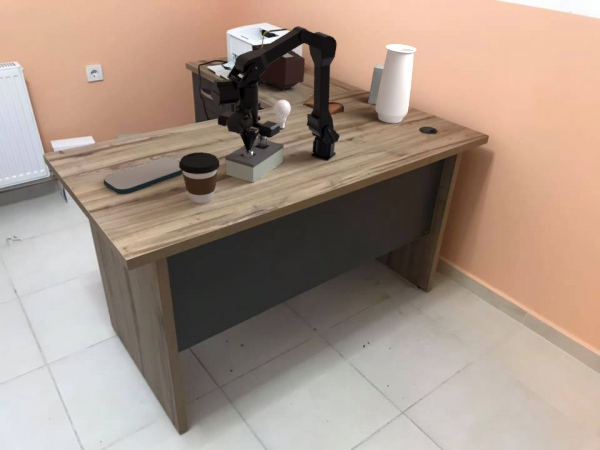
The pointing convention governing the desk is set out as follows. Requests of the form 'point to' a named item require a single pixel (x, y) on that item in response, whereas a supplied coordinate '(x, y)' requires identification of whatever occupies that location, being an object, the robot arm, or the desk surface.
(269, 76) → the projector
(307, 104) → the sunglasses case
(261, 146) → the inner peg
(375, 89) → the skincare box
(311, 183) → the desk surface
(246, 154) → the outer peg
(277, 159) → the press block
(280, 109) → the lightbulb
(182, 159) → the coffee cup
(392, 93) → the vase
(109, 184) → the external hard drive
